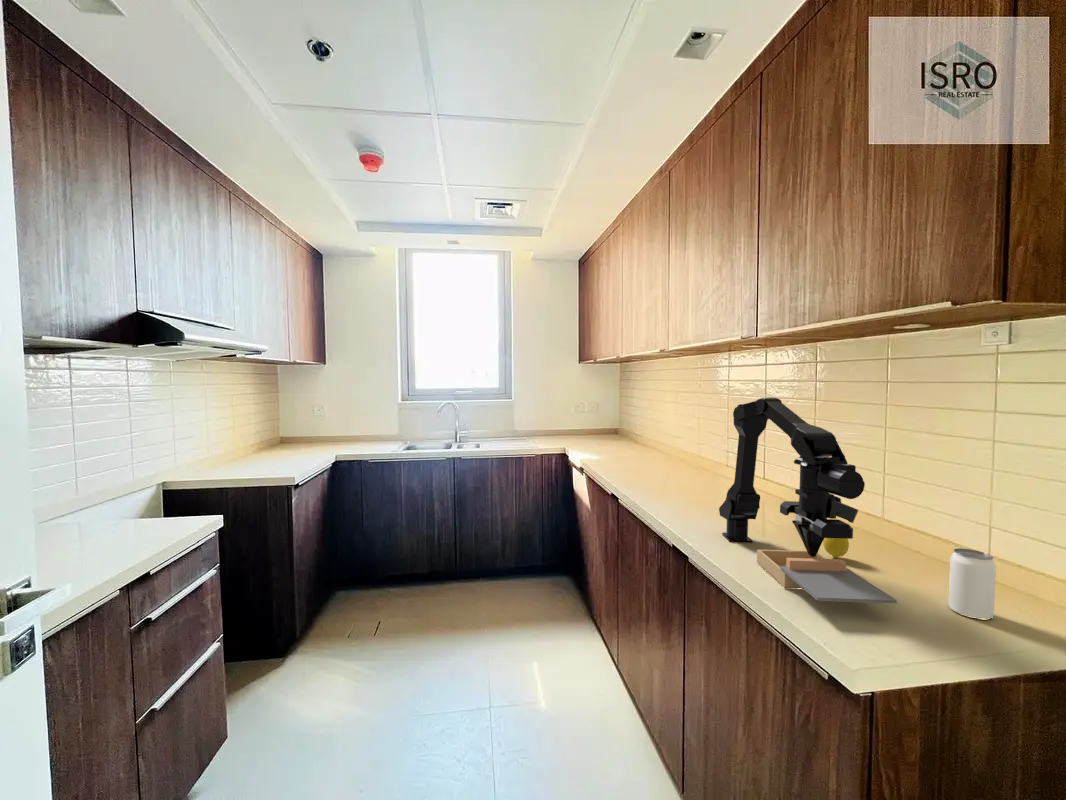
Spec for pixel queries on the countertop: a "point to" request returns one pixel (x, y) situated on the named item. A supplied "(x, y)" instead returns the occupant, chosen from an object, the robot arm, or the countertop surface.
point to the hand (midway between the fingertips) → (812, 556)
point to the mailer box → (781, 564)
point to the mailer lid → (833, 581)
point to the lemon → (836, 546)
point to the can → (972, 583)
